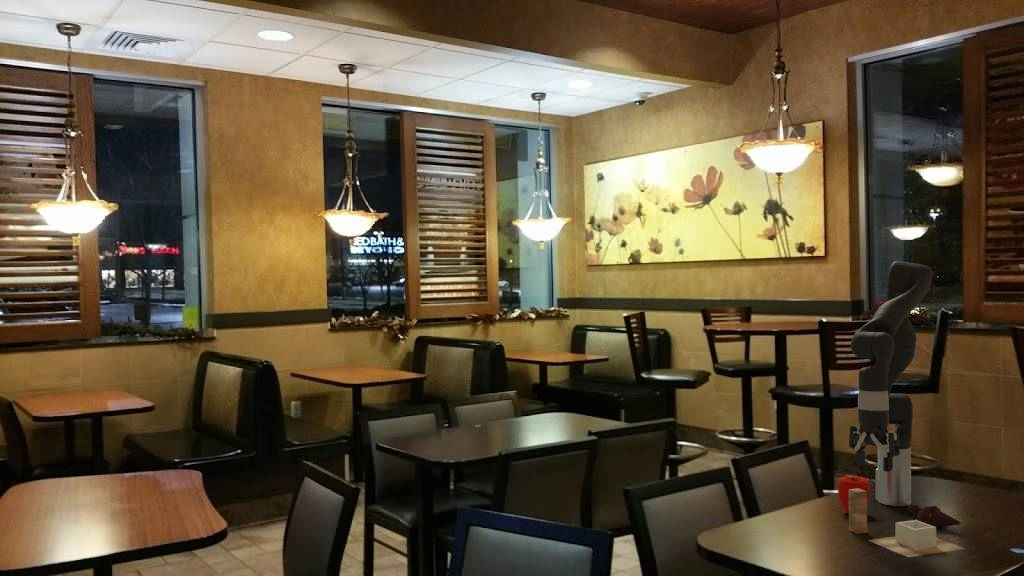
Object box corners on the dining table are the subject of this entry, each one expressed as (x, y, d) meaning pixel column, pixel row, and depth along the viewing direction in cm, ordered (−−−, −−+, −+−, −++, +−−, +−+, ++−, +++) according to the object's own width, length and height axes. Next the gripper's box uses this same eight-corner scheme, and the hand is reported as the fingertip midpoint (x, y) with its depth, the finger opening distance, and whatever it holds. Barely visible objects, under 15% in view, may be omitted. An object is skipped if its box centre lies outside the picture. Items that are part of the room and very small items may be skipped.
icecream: (968, 510, 226) (916, 503, 238) (953, 507, 222) (900, 500, 235) (967, 537, 224) (914, 528, 237) (951, 535, 221) (899, 526, 233)
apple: (855, 507, 252) (854, 471, 252) (877, 515, 244) (877, 478, 244) (831, 511, 249) (831, 474, 249) (852, 519, 241) (852, 481, 241)
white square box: (895, 541, 217) (895, 522, 217) (916, 539, 219) (916, 520, 219) (915, 549, 211) (914, 529, 211) (936, 546, 213) (936, 527, 213)
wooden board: (867, 543, 219) (867, 540, 219) (922, 536, 224) (922, 532, 224) (907, 561, 205) (907, 557, 205) (965, 552, 211) (965, 548, 211)
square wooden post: (848, 533, 227) (848, 489, 227) (858, 532, 228) (858, 488, 228) (857, 537, 224) (856, 492, 224) (867, 536, 225) (866, 491, 225)
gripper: (906, 409, 219) (906, 471, 219) (861, 402, 232) (862, 461, 232) (885, 411, 216) (886, 475, 216) (841, 404, 229) (842, 464, 229)
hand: (874, 468), depth 224 cm, fingers open, 8 cm apart
